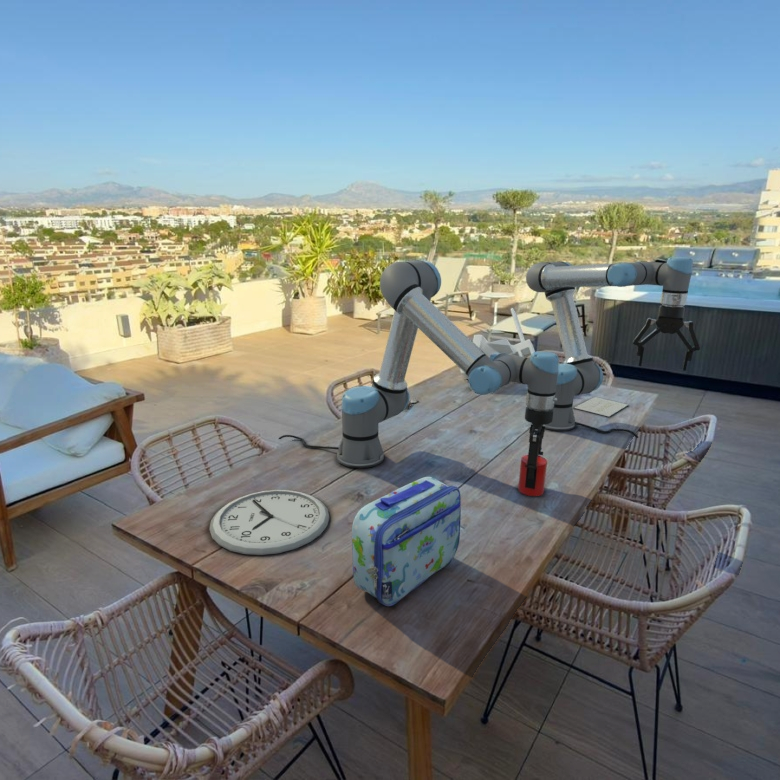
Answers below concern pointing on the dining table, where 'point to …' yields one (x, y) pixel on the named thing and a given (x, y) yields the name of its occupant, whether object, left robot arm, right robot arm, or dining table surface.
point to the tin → (539, 477)
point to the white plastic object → (504, 344)
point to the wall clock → (269, 522)
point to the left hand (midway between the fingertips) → (531, 481)
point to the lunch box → (405, 538)
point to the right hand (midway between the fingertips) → (661, 367)
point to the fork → (411, 402)
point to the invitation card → (601, 406)
